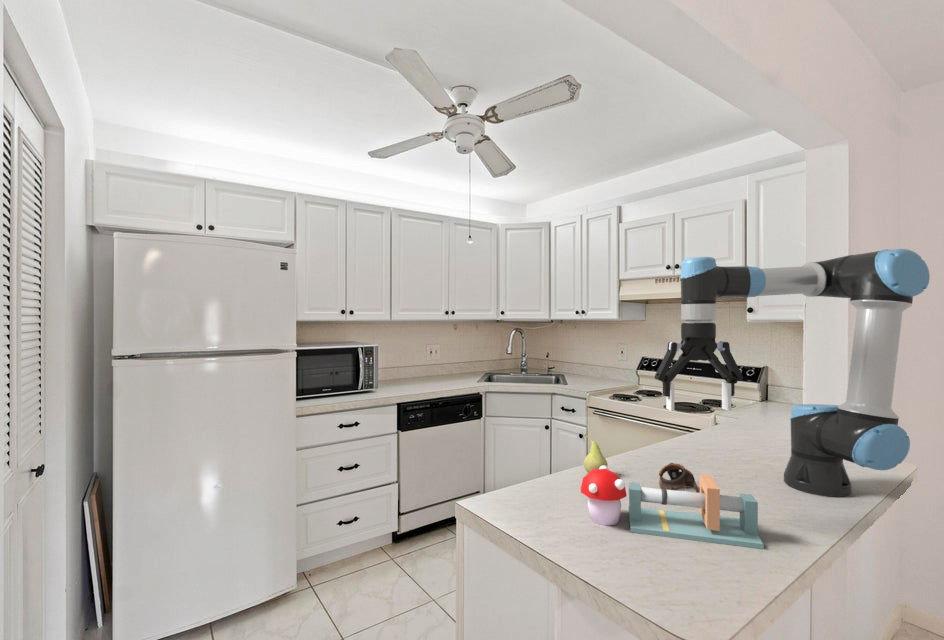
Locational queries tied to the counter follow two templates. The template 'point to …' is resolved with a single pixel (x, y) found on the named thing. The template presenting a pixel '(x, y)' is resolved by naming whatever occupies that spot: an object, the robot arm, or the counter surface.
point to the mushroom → (603, 495)
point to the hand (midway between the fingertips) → (698, 409)
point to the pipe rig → (693, 517)
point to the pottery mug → (677, 477)
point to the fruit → (594, 458)
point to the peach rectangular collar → (710, 502)
